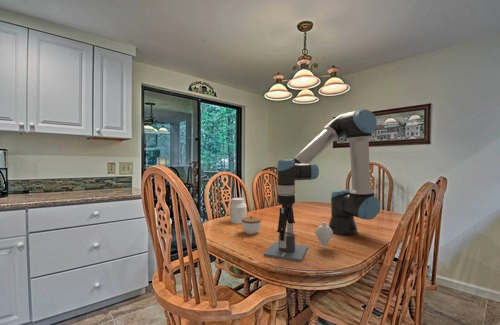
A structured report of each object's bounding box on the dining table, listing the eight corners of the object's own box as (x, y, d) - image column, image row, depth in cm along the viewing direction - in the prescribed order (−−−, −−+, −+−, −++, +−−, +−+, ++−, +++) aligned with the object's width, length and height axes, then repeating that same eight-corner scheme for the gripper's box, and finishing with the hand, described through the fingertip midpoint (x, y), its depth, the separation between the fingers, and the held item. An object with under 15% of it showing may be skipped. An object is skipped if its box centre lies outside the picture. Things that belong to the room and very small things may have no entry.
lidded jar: (265, 232, 136) (264, 215, 135) (252, 237, 128) (251, 219, 128) (250, 228, 143) (250, 212, 143) (237, 233, 135) (237, 216, 135)
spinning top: (323, 252, 106) (323, 225, 106) (312, 246, 113) (311, 221, 113) (336, 249, 109) (336, 223, 109) (325, 244, 116) (325, 219, 116)
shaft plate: (308, 247, 112) (307, 234, 111) (301, 261, 97) (301, 247, 97) (274, 243, 118) (274, 231, 118) (263, 256, 103) (263, 242, 103)
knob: (281, 246, 112) (281, 230, 111) (296, 247, 109) (296, 232, 109) (277, 251, 105) (277, 235, 105) (292, 253, 103) (292, 237, 103)
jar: (247, 223, 155) (247, 199, 155) (233, 224, 152) (232, 200, 152) (243, 218, 166) (242, 197, 166) (229, 220, 163) (229, 197, 163)
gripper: (284, 190, 120) (285, 233, 120) (269, 198, 97) (270, 251, 97) (300, 191, 117) (300, 234, 117) (288, 199, 94) (288, 254, 94)
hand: (286, 242), depth 107 cm, fingers open, 13 cm apart
